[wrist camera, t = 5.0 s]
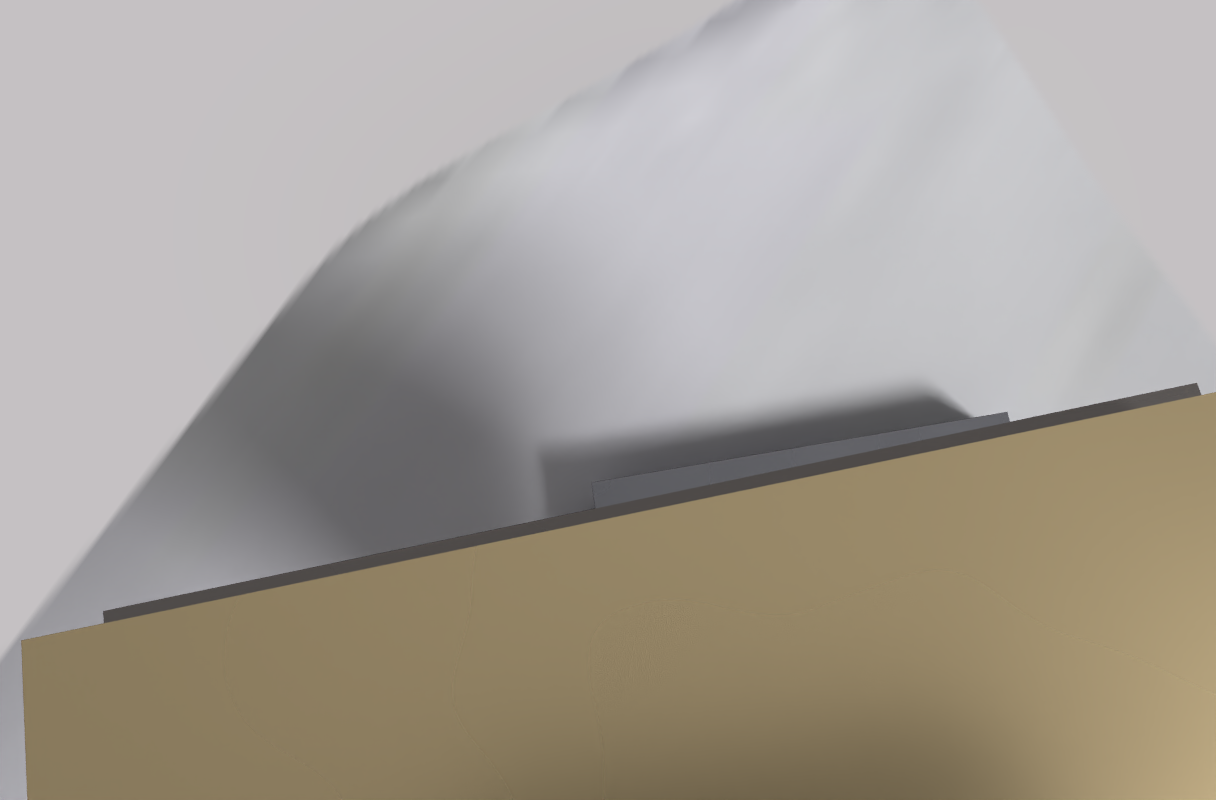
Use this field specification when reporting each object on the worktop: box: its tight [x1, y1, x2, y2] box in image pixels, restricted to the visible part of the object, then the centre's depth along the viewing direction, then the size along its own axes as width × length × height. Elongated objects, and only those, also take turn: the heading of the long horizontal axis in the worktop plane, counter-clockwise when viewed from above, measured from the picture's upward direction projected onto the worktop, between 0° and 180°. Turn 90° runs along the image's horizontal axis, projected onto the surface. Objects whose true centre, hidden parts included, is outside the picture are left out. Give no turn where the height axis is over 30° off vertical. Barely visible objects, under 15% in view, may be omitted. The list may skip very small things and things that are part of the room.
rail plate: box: [592, 412, 1010, 508], centre depth 20 cm, size 12×8×2 cm
